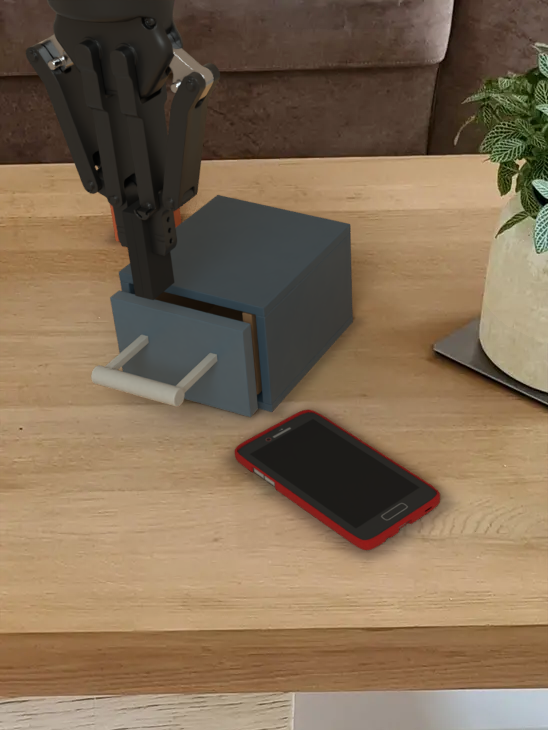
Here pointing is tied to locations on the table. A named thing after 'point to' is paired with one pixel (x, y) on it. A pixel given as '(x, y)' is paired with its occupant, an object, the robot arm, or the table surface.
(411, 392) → the table surface
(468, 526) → the table surface
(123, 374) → the drawer
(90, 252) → the table surface
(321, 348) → the cabinet
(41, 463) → the table surface
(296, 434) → the cell phone
